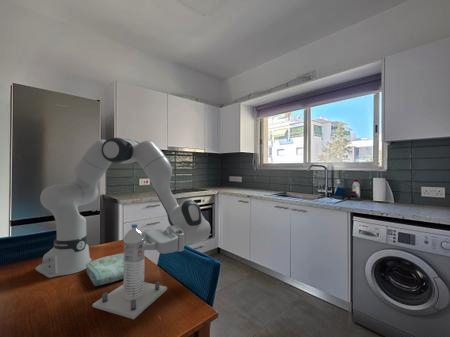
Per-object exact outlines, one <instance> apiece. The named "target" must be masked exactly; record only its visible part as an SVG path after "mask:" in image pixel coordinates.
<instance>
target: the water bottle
mask: <svg viewBox="0 0 450 337" xmlns="http://www.w3.org/2000/svg"><path fill="white" fill-rule="evenodd" d="M143 232H144V231H142V230H141V229H140V228H138V223H133V224H131V228H130V230H128V231H127V232H126V234H124V236H123V253H124V261H123V279H122V281H123V283H122V285H123V297H124V299H125V300H126V301H132V300H137V299H139V298H141V297H142V296H143V294H144V282H145V262H146V261H145V258H146V257H145V250H144V251H143V250H142V249H141V245H142V244H145V241H144V240H145V235H144V234H143Z"/></svg>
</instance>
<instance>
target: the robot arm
mask: <svg viewBox="0 0 450 337" xmlns="http://www.w3.org/2000/svg"><path fill="white" fill-rule="evenodd" d="M112 163H114V164H123V165H124V164H125V165H127V164H137V163H138V164H139V165H140V167H141V168H142V170H143V171H144V173H145V174H146V177H147V178H148V179H149V181H150V184H151V185H152V187H153V190H154V192H155V194H156V196H157V198H158V199H159V202H160V204H161V205H162V206H163V208H164V210H165V213H166V216H167V221H168V223H169V226H167V227H166V229H165V230H164V229H162V228H153V229H147V230H144V231H142V232H143V234H144V235H145V240H144V242H146V243H144V244H142V245H141V249H142V250H143V251H144V252H145V251H155V250H156V251H157V252H158V253H159V254H163V255H164V254H165V255H166V254H170V253H171V254H172V253H174V252H175V253H176V252H179V253H180V252H183V251H184V249H185V246H187V245H195V244H198V243H199V244H200V243H202V242H204V241H205V240H207V239H208V238H209V237H210V234H211V230H212V228H211V225H210V222H209V221H207V220H206V219H205V216H204V215H203V214H202V211H201V207H200V205H199V203H197V202H196V201H195V200H192V199H187V200H185V201H184V202H182V203H181V204H180V205H179V203H178V201H177V200H176V197H174V196H175V195H174V194H173V192H172V191H171V179H172V176H173V168H172V164H171V163H170V161H169V159H168V158H167V157H166V154H164V152H163V151H162V150H161V149H160V147H159V146H158V145H157V144H155V143H154V142H153V141H151V140H144V141H141V142H138V141H136V140H132V139H129V138H120V137H110V138H107V139H98V140H96V141H95V142H94V143H93V144H92V145H91V146H90V147H89V148H88V149H87V150H86V152H85V153H84V155H82V157H81V158H80V160H79V161H78V162H77V164H76V166H75V167H74V170H73V173H74V175H75V177H76V178H75V180H74V181H72V182H71V183H59V184H58V183H57V184H53V185H51V186H47V187H45V188H44V189H43V190H42V191H41V194H40V196H39V199H40V200H39V201H40V203H41V205H42V206H43V208H45V209H46V210H48V211H49V212H50V213H52V214H51V215H53V217H54V221H55V224H56V225H55V226H56V238H55V239H54V240H53V247H52V248H51V249H49V251H47V252H46V253H45V254H44V255H43V257H42V260H41V262H42V263H40V264H39V265H38V266H36V267H35V271H36V272H38V273H40V274H42V275H44V276H45V277H47V278H48V279H49V278H54V277H59V276H60V277H61V276H67V275H72V274H75V273H78V272H82V271H83V270H85V269H86V270H87V267H86V263H89V262H91V261H92V258H91V257H90V248H89V244H87V243H88V235H87V219H86V217H85V216H83V215H81V213H80V212H79V207H80V206H85V205H88V204H91V203H93V202H94V201H96V200H97V199H98V198H99V193H100V192H99V189H98V184H99V182H100V180H101V179H102V178H103V176H104V175H105V173H106V171H107V170H108V169H109V167H110V166H111V164H112Z"/></svg>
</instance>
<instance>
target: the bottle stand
mask: <svg viewBox="0 0 450 337" xmlns="http://www.w3.org/2000/svg"><path fill="white" fill-rule="evenodd" d="M160 283H161V282H160V281H158V280H157V281H155V282H154V283H152V282H151V283H150V282H146V281H144V294H143V296H142V297H141V298H139V299H137V300H132V301H126V300H125V299H124V297H123V284H122V285H120V286H118V287H116V288H115V289H113V290H112V291H111V292H109V293H108V292H103V293H102V296H101V298H100V299H98V300H96V301H95V302H94V303H92V308H94V309H98V310H102V311H105V312H108V313H111V314H114V315H119V316H121V317H124V318H125V317H126V318H128V319H131V320H135V319H136V318H137V317H138V316H139V315H141V313H143V312H144V311H145V310H146V309H147V308H148V307H149V306H150V305H152V304H153V303H154V302H155V301H156V300H158V299H159V297H161V296H162V295H163V294H164V293H165V292H167V290H168V286H165V285H164V286H163V285H161V284H160Z"/></svg>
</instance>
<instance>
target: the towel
mask: <svg viewBox="0 0 450 337" xmlns="http://www.w3.org/2000/svg"><path fill="white" fill-rule="evenodd" d="M123 261H124V252H122V253H116V254H113V255H107V256H103V257H100V258H97V259H94V260H91V261H90V262H89V263H86V267H87V268H86V274H87V276H88V277H89V279H90V281H91V283H92V285H93V286H94V287H99V286H103V285H107V284H110V283H114V282H117V281H122V280H123Z"/></svg>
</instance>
